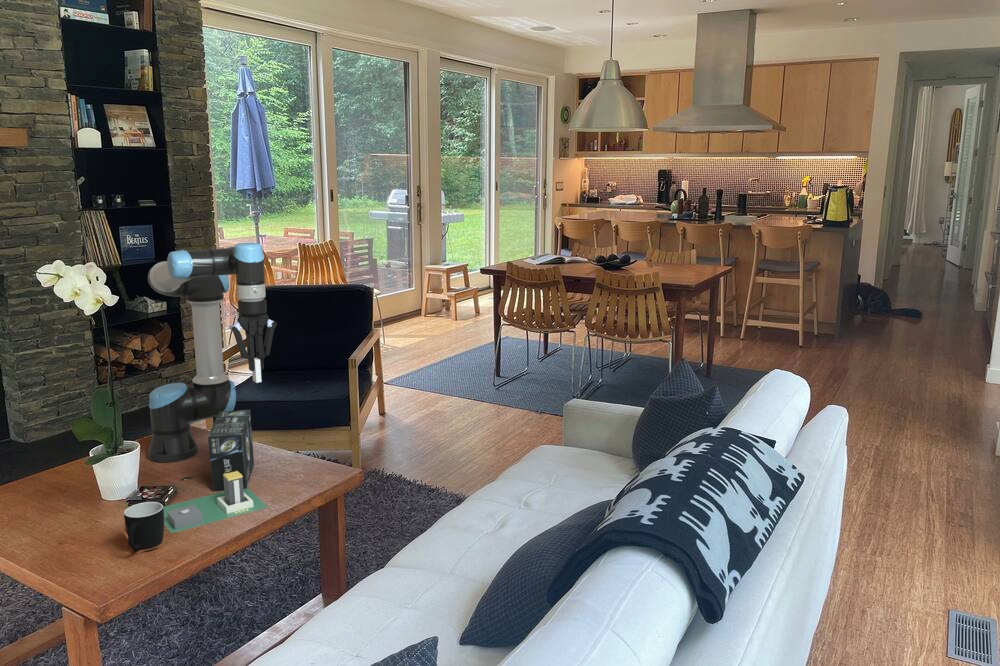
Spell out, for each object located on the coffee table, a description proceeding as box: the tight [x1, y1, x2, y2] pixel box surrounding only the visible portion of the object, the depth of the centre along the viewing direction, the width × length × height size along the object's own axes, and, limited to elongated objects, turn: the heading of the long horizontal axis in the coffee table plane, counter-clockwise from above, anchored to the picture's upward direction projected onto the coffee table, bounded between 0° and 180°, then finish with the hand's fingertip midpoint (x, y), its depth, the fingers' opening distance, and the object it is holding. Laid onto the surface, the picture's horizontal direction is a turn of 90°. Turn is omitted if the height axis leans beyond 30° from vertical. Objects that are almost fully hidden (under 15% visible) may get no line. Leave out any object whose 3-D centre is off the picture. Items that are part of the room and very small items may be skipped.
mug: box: [123, 501, 165, 553], centre depth 190 cm, size 12×9×10 cm
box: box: [207, 409, 255, 492], centre depth 233 cm, size 23×10×19 cm, turn 12°
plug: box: [223, 471, 244, 506], centre depth 213 cm, size 5×4×9 cm
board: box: [163, 487, 269, 534], centre depth 212 cm, size 18×26×4 cm
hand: (257, 381), depth 216 cm, fingers closed
